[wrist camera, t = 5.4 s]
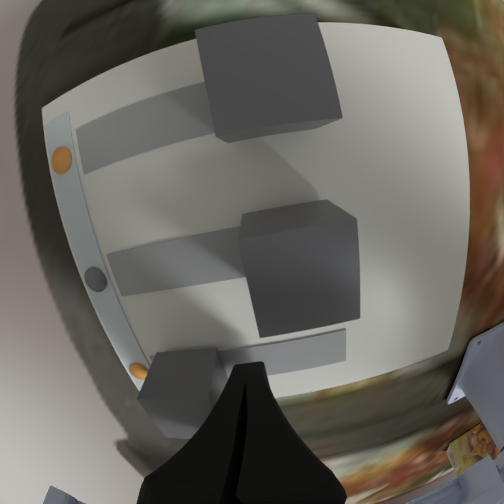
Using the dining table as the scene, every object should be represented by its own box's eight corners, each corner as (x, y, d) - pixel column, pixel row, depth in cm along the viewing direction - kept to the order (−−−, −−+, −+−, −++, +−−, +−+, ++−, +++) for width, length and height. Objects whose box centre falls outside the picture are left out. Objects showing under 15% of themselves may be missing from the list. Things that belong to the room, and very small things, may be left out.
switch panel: (421, 47, 9) (443, 36, 7) (434, 332, 14) (449, 351, 12) (64, 110, 10) (38, 108, 8) (155, 383, 15) (147, 406, 14)
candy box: (444, 452, 23) (473, 524, 8) (449, 442, 21) (482, 520, 7) (489, 422, 22) (524, 486, 7) (496, 409, 20) (535, 477, 6)
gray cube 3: (297, 51, 7) (314, 13, 5) (315, 128, 8) (343, 118, 6) (211, 64, 8) (194, 29, 5) (227, 143, 9) (215, 136, 6)
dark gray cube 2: (326, 199, 9) (356, 218, 6) (334, 276, 10) (360, 318, 7) (242, 214, 9) (237, 239, 7) (258, 290, 10) (260, 337, 8)
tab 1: (217, 347, 11) (208, 398, 9) (232, 390, 12) (229, 438, 10) (156, 352, 12) (137, 398, 9) (178, 393, 13) (166, 437, 10)
